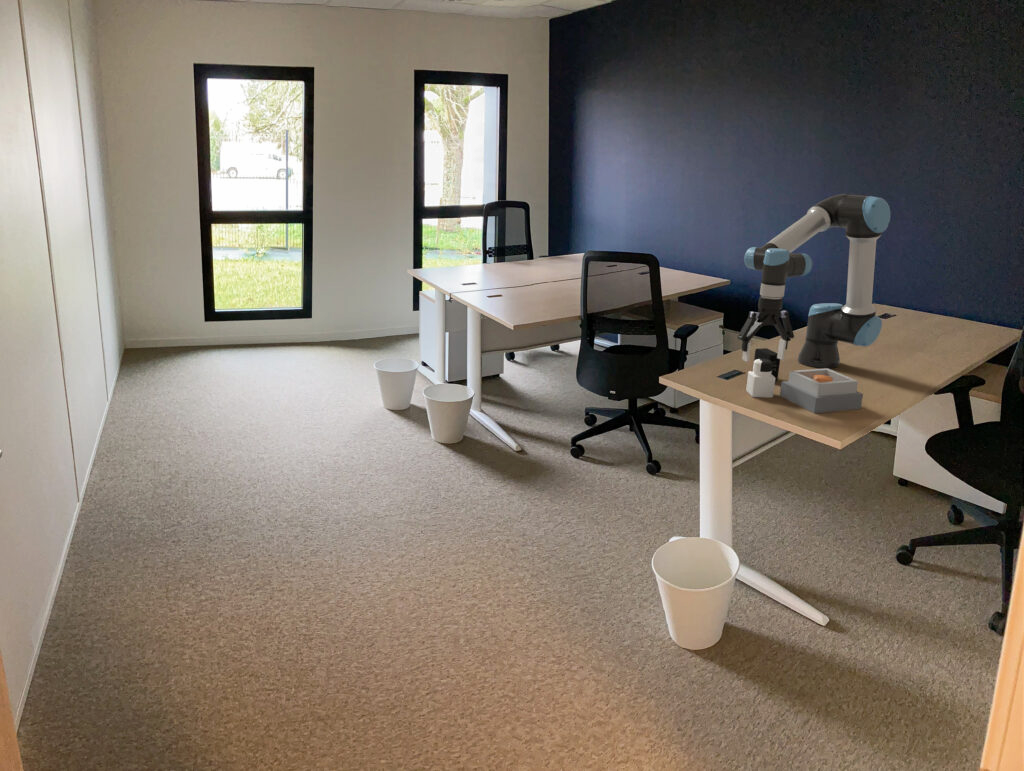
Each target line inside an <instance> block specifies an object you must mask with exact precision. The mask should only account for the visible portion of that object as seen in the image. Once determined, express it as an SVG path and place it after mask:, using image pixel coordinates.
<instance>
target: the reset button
mask: <svg viewBox="0 0 1024 771" xmlns="http://www.w3.org/2000/svg"><path fill="white" fill-rule="evenodd" d="M813 380H815V381H817V382H820V383H821V382H832V381H833V378H832V377H830V376H826V375H814V376H813Z"/></svg>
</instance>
